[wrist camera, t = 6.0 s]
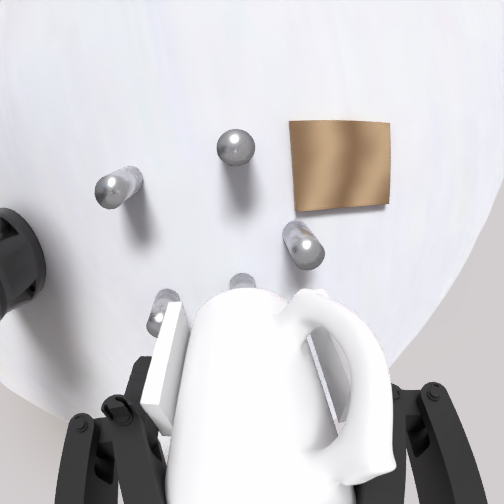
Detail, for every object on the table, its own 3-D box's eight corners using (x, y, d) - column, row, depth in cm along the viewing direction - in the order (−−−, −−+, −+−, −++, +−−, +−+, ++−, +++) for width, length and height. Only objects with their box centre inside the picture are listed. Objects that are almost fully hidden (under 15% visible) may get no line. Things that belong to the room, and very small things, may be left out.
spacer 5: (283, 247, 33) (294, 272, 27) (281, 222, 31) (293, 243, 26) (308, 244, 33) (324, 267, 28) (308, 219, 32) (325, 239, 26)
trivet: (294, 209, 31) (296, 211, 30) (289, 121, 26) (291, 121, 26) (385, 201, 31) (388, 203, 30) (385, 122, 27) (389, 123, 26)
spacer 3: (220, 160, 28) (219, 168, 22) (217, 131, 26) (214, 131, 21) (250, 156, 28) (256, 163, 23) (247, 127, 27) (253, 127, 21)
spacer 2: (160, 309, 35) (151, 339, 30) (153, 290, 34) (142, 318, 28) (182, 307, 35) (176, 338, 30) (176, 287, 34) (169, 317, 29)
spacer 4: (231, 296, 35) (232, 326, 30) (227, 274, 34) (228, 303, 28) (256, 292, 35) (261, 322, 30) (253, 271, 34) (258, 299, 29)
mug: (264, 378, 18) (284, 543, 7) (172, 345, 16) (141, 534, 5) (360, 266, 14) (486, 460, 3) (254, 204, 12) (326, 526, 2)
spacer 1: (120, 196, 28) (99, 211, 23) (115, 169, 27) (91, 179, 21) (145, 190, 28) (127, 206, 23) (140, 163, 27) (120, 172, 22)
